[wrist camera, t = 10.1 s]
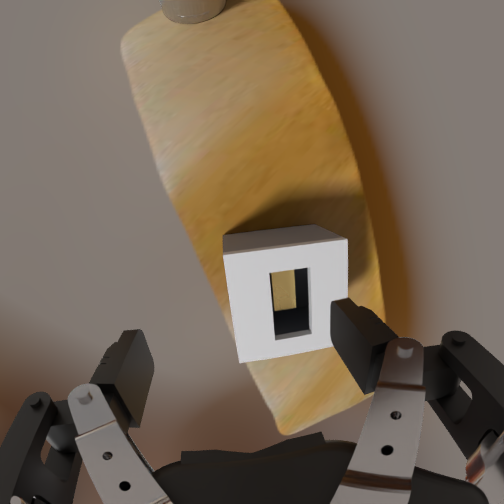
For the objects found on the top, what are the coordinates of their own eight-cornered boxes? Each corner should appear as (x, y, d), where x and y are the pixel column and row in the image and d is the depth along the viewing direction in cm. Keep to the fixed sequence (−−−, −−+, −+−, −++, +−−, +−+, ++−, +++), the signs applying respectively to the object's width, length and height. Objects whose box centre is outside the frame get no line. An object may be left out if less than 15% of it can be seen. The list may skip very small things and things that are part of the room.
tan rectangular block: (262, 254, 35) (270, 269, 29) (282, 252, 35) (293, 265, 29) (266, 291, 36) (274, 311, 30) (284, 288, 36) (296, 307, 31)
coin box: (222, 235, 34) (223, 255, 25) (315, 224, 35) (347, 239, 26) (234, 320, 37) (239, 362, 28) (318, 307, 38) (345, 343, 29)
